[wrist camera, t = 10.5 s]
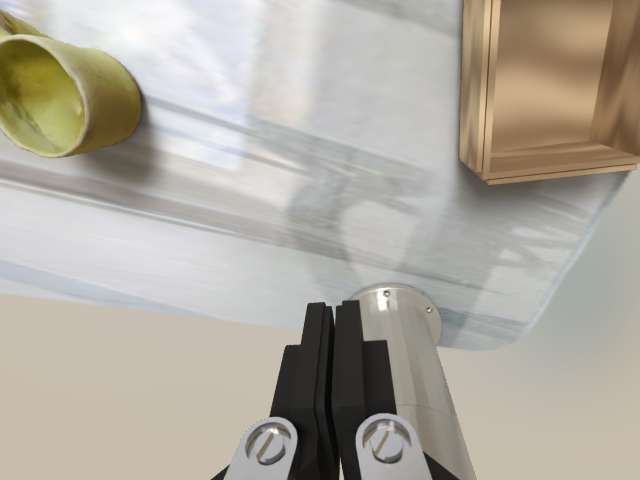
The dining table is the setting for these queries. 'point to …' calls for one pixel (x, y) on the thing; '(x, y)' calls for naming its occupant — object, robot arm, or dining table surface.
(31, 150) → the mug
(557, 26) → the wooden box
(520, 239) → the dining table surface
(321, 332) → the robot arm
